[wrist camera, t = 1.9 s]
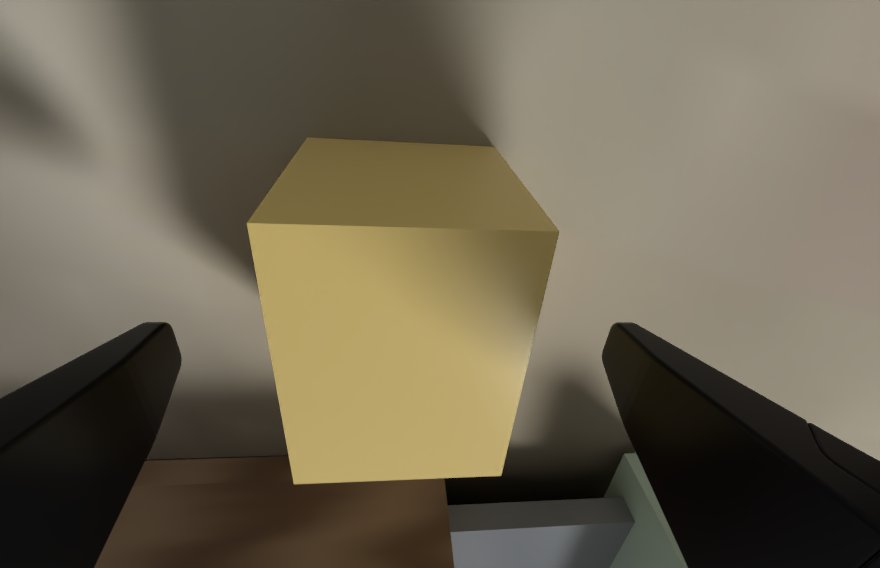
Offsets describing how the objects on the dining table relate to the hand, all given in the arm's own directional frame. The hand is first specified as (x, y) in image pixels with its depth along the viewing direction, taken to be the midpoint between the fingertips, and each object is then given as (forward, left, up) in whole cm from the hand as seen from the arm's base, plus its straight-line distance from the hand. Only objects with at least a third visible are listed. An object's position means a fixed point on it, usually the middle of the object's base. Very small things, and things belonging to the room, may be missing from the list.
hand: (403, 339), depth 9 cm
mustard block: (0, 0, -4) cm, 4 cm away
